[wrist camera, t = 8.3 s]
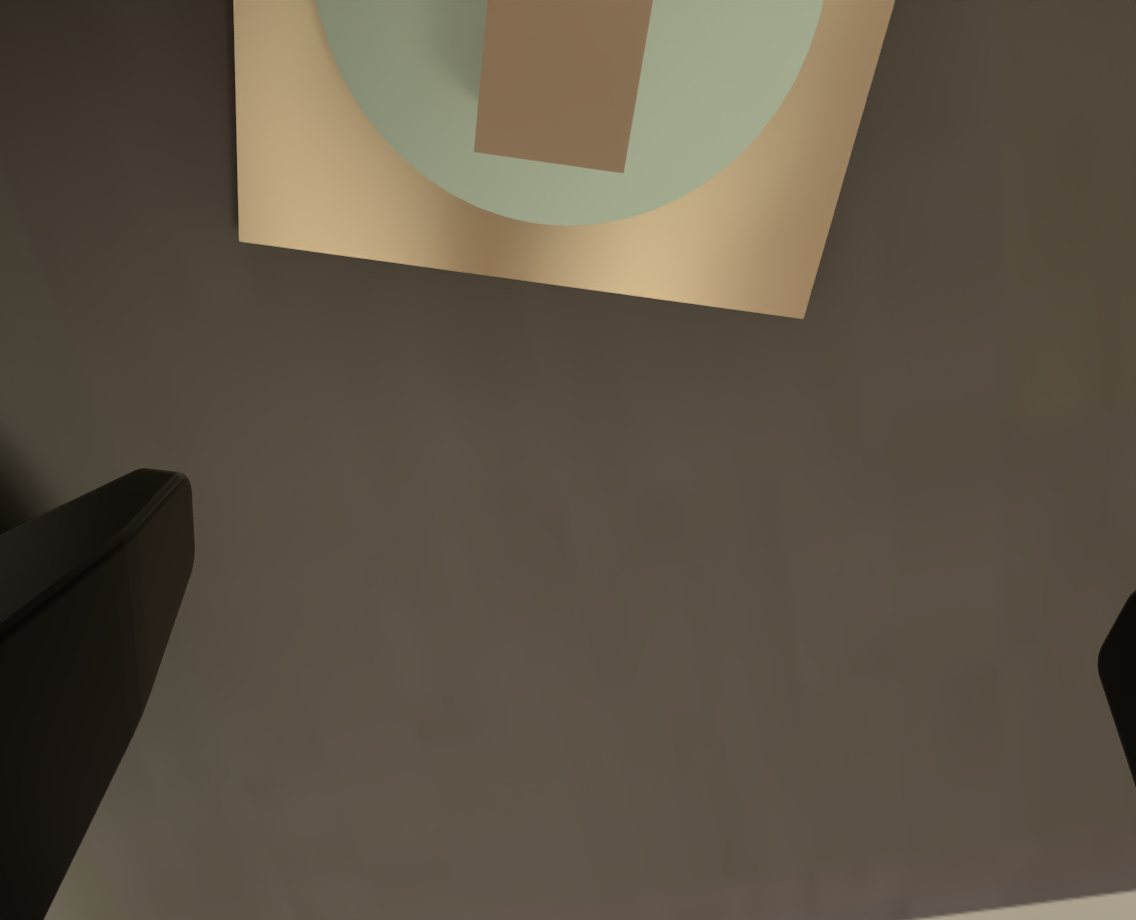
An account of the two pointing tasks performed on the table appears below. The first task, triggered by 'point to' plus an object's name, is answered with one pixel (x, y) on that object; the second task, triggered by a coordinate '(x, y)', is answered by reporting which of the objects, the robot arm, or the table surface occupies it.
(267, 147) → the mat
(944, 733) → the table surface
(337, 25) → the cover
